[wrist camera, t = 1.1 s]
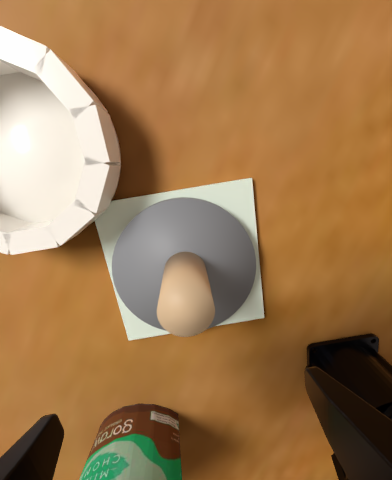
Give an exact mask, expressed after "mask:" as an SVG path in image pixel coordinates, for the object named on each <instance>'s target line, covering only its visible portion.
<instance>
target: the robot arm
mask: <svg viewBox="0 0 392 480" xmlns="http://www.w3.org/2000/svg"><path fill="white" fill-rule="evenodd" d="M378 345H379V339H378V337H377V336H375V335H374V334H366V335H360V336H354V337H348V338H342V339H336V340H330V341H324V342H318V343H312V344H310V345H308V347H307V366H306V368H305V386H306V390H307V393H308V396H309V398H310V400H311V403H312V405H313V407H314V409H315V412H316V414H317V416H318V419H319V421H320V423H321V426H322V428H323V430H324V433H325V435H326V437H327V439H328V442H329V444H330V446H331V447H332V449H333V451H334V454H333V455H332V456H331V457H332V460H333V463H334V466H335V469H336V472H337V476H338V479H339V480H392V366H391V365H390V364H389V363H388V362H387V361H386V360H385V359H384V358H383V357H382V356H381V355H380V354H379V353H378ZM313 349H314V350H313ZM63 438H64V429H63V427H62V425H61V422H60V420H59V418H58V416H57V415H56V414H50V415H45V416H43V417H42V418H40V419H39V420H38V421H37V422H36V423H35V424H34V425H33V426H32V427H31V428H30V429H29V430H28V431H27V432H26V433H25V434H24V435H23V436H22V437H21V438H20V439H19V440H18V441H17V442H16V443H15V444H14V445H13V446H12V447H11V448H10V449H9V450H8V451H7V452H6V453H5V454H4V455H3V456H2V457H1V458H0V480H52V479H53V476H54V472H55V468H56V464H57V461H58V457H59V453H60V449H61V446H62V442H63Z"/></svg>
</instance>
